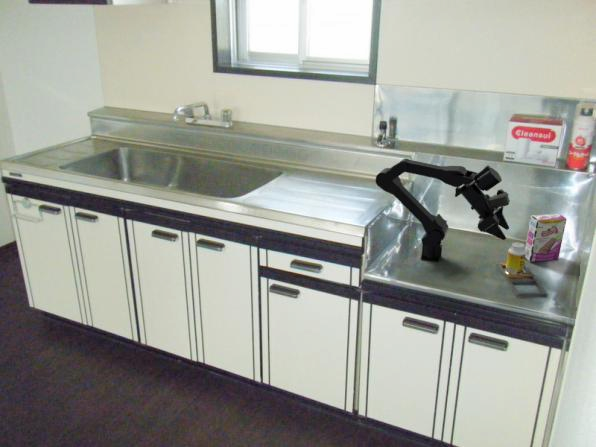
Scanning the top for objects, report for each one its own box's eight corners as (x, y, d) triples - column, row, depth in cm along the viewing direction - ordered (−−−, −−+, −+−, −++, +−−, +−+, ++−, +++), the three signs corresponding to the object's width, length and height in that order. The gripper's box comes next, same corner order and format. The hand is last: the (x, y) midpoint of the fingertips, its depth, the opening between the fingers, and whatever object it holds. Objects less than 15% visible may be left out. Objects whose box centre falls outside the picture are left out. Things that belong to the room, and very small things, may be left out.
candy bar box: (530, 263, 203) (537, 220, 197) (522, 257, 208) (529, 215, 201) (559, 260, 205) (567, 218, 198) (551, 254, 209) (558, 212, 203)
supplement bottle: (519, 277, 194) (524, 249, 190) (503, 272, 197) (507, 245, 193) (524, 270, 198) (529, 243, 194) (508, 266, 201) (512, 239, 197)
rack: (547, 297, 181) (547, 294, 181) (516, 297, 182) (516, 293, 181) (523, 265, 202) (524, 262, 201) (496, 265, 202) (496, 262, 201)
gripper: (492, 193, 181) (524, 231, 181) (500, 176, 197) (529, 211, 197) (464, 213, 187) (495, 249, 187) (473, 195, 203) (502, 228, 203)
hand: (506, 234), depth 193 cm, fingers open, 9 cm apart
